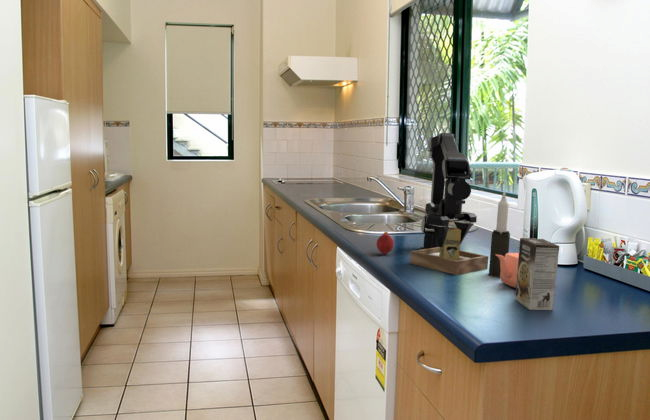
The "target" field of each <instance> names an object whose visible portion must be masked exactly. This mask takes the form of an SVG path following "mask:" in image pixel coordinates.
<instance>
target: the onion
mask: <svg viewBox="0 0 650 420" xmlns="http://www.w3.org/2000/svg"><path fill="white" fill-rule="evenodd" d="M394 245H395V242H394V239H393V238H392V236H391V235H390V234H389V232H388V231H384V232H383V234H382V235H380V236H379V237H378V238H377V240H376V247H377V250H378V251H379V252H380V253H381V254H382V255H387V254H389V253H390V252H391V251H392V250H393V249H394Z"/></svg>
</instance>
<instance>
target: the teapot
mask: <svg viewBox="0 0 650 420" xmlns="http://www.w3.org/2000/svg"><path fill="white" fill-rule="evenodd" d="M496 256H497V257H498V258H499V259H500V269H501V273H500V277H499V278H500V281H501V282H502V283H503V284H505V285H507V286H510V287H511V288H514V289H516V284H517V272H518V259H519V252H509V253H506V255H505V257H504V256H502V255H496Z"/></svg>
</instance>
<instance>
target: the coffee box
mask: <svg viewBox="0 0 650 420" xmlns="http://www.w3.org/2000/svg"><path fill="white" fill-rule="evenodd" d="M518 249H519V250H518V253H519V259H518V272H517V284H516V288H515V298H514V299H515V301H516V302H518V303H520V304H521V306H524V307H525V308H526V309H528V311H529V310H530V311H554V303H555V302H554V301H555V294H556V293H555V291H556V283H557V273H558V263H559V252H560V245H558V244H555V243H554V242H551V241H549V240H546V239H544V238H532V237H531V238H530V237H521V238H519V248H518Z"/></svg>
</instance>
